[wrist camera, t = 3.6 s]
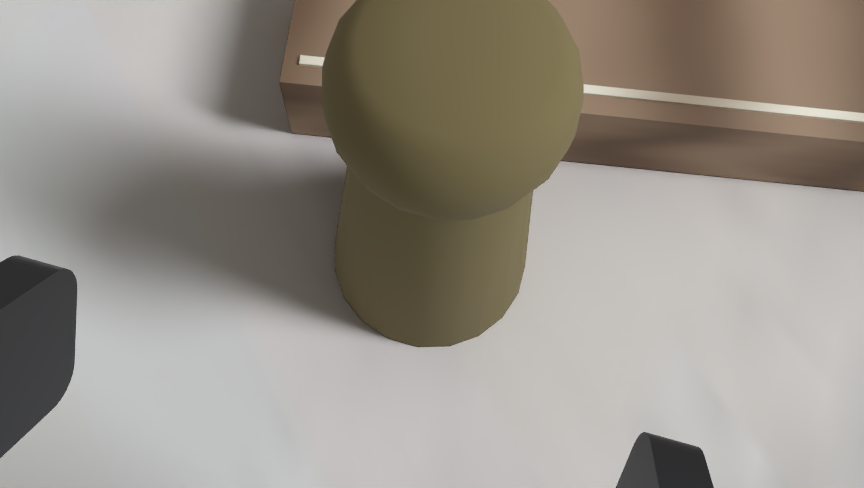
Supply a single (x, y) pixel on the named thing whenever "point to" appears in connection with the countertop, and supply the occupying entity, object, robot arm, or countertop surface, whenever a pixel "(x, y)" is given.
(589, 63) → the walnut plank
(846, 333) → the countertop surface
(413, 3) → the cork
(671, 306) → the countertop surface
